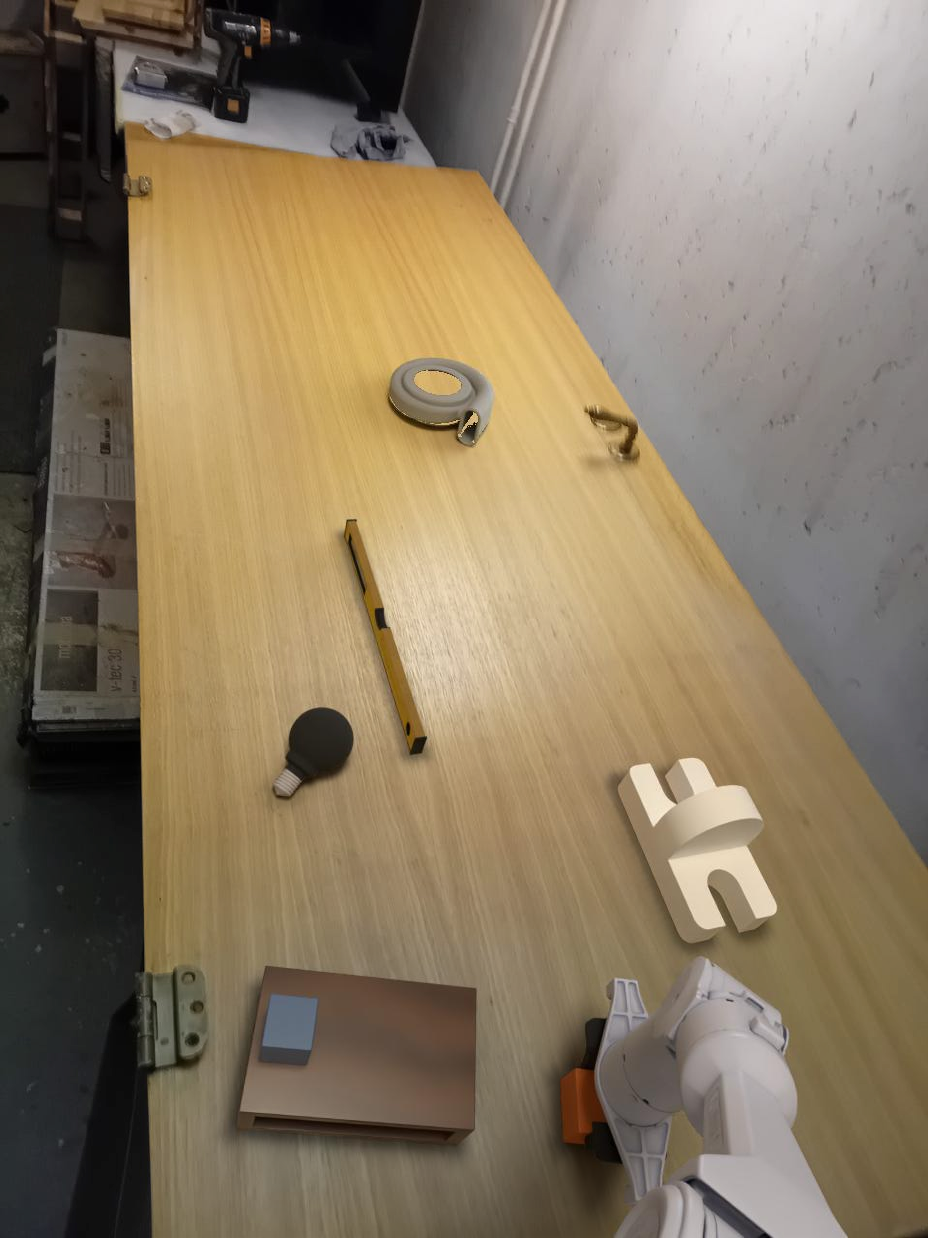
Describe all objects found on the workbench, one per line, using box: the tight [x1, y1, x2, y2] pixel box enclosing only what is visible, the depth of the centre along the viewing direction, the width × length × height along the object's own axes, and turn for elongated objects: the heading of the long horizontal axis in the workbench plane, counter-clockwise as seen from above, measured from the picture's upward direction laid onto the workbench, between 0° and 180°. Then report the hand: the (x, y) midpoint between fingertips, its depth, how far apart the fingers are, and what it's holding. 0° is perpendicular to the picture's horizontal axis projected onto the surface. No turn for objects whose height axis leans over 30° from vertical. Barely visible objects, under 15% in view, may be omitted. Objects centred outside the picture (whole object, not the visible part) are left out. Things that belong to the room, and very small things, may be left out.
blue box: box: [259, 994, 319, 1065], centre depth 59 cm, size 4×4×4 cm
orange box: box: [559, 1067, 607, 1145], centre depth 66 cm, size 4×4×4 cm
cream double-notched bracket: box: [616, 757, 778, 944], centre depth 83 cm, size 10×18×11 cm, turn 15°
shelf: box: [236, 965, 477, 1147], centre depth 64 cm, size 10×17×6 cm, turn 88°
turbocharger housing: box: [388, 357, 495, 447], centre depth 129 cm, size 17×6×15 cm
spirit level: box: [343, 518, 428, 755], centre depth 96 cm, size 33×1×3 cm, turn 17°
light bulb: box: [272, 706, 355, 797], centre depth 81 cm, size 6×6×10 cm
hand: (593, 1109), depth 67 cm, fingers closed on orange box, 4 cm apart
